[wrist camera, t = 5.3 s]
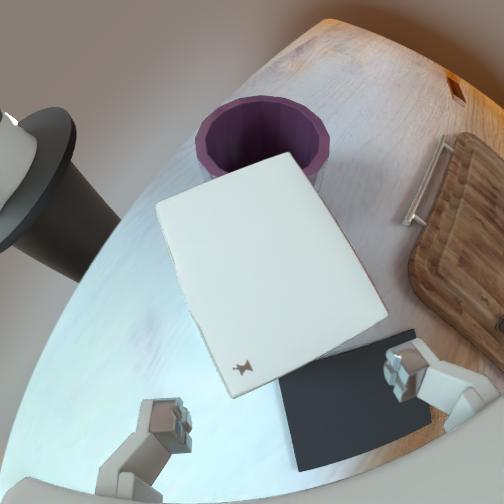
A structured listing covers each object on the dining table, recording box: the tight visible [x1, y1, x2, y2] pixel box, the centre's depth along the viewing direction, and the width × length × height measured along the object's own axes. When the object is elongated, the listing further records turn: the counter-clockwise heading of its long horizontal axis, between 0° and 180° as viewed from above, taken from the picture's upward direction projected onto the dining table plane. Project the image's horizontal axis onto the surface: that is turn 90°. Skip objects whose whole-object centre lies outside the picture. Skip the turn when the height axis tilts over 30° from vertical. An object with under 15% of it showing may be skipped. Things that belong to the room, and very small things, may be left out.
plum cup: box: [195, 95, 330, 192], centre depth 21 cm, size 9×9×9 cm
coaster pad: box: [278, 329, 431, 472], centre depth 19 cm, size 12×9×1 cm
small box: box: [155, 152, 389, 399], centre depth 16 cm, size 8×6×13 cm
